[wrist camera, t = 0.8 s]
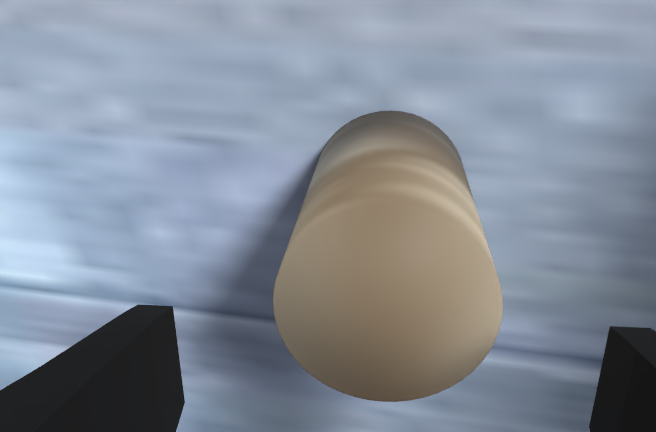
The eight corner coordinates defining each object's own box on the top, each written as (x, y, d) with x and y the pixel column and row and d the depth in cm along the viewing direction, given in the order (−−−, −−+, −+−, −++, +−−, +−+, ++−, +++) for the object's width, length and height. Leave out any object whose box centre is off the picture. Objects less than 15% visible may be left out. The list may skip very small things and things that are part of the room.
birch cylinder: (470, 111, 17) (515, 208, 11) (458, 252, 19) (490, 407, 13) (314, 109, 18) (268, 201, 11) (316, 247, 19) (277, 395, 13)
